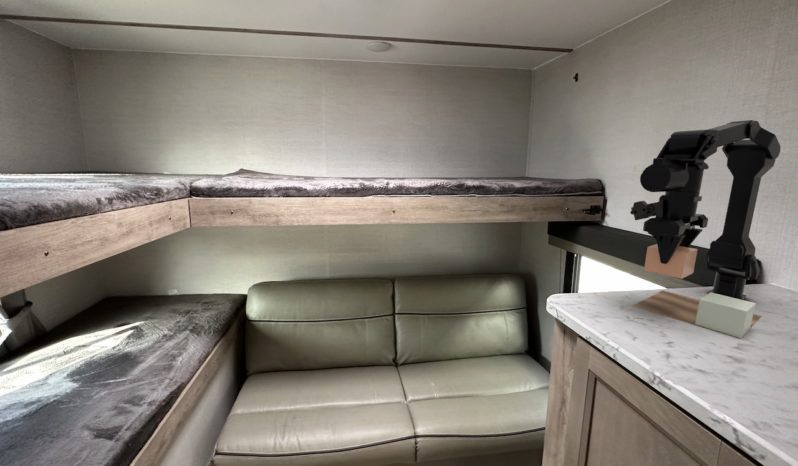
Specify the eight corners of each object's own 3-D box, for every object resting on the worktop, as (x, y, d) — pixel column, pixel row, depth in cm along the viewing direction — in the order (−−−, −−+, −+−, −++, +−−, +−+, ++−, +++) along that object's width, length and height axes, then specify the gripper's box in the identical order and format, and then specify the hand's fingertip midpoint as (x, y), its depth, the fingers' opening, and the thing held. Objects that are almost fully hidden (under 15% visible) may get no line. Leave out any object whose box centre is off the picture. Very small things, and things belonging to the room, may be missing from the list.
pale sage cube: (705, 316, 75) (710, 292, 74) (750, 328, 70) (755, 303, 69) (694, 324, 72) (699, 299, 70) (740, 338, 66) (747, 311, 65)
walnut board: (661, 293, 91) (662, 290, 91) (761, 320, 76) (762, 316, 76) (631, 309, 81) (632, 305, 80) (739, 343, 66) (740, 338, 66)
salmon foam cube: (656, 265, 82) (660, 242, 81) (693, 273, 76) (697, 249, 75) (643, 270, 78) (647, 246, 77) (681, 278, 73) (686, 253, 71)
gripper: (655, 187, 85) (646, 247, 88) (621, 190, 75) (611, 258, 78) (714, 190, 76) (701, 257, 80) (684, 194, 66) (671, 271, 69)
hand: (670, 260), depth 77 cm, fingers closed on salmon foam cube, 7 cm apart
